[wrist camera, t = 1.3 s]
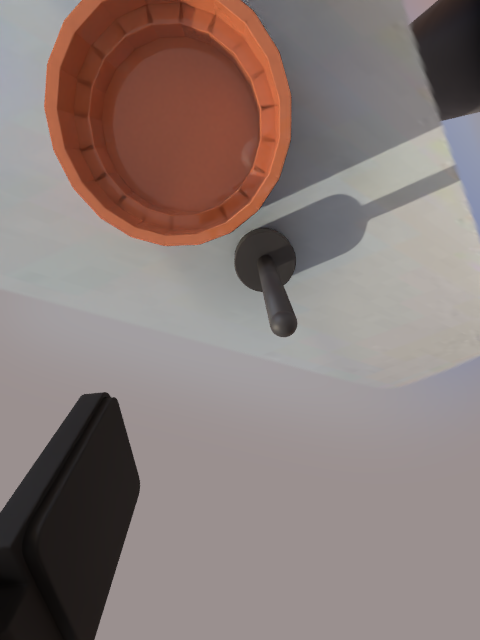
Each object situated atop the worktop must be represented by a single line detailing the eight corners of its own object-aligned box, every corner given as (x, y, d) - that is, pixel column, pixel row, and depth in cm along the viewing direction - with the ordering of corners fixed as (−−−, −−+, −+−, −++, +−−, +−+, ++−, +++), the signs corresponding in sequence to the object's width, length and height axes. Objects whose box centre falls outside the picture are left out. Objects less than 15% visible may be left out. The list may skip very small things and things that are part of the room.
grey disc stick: (269, 215, 32) (298, 256, 17) (304, 262, 33) (357, 336, 18) (222, 252, 33) (211, 321, 18) (258, 296, 34) (274, 391, 20)
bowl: (191, -49, 25) (178, -111, 19) (319, 150, 30) (338, 145, 24) (40, 114, 28) (-8, 100, 23) (175, 267, 33) (163, 287, 28)
